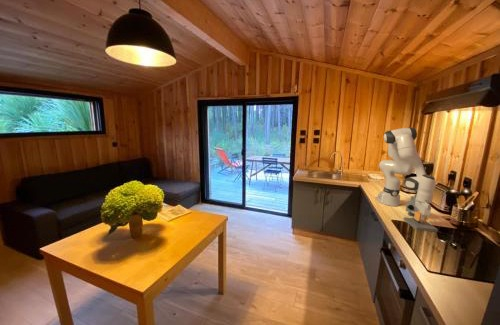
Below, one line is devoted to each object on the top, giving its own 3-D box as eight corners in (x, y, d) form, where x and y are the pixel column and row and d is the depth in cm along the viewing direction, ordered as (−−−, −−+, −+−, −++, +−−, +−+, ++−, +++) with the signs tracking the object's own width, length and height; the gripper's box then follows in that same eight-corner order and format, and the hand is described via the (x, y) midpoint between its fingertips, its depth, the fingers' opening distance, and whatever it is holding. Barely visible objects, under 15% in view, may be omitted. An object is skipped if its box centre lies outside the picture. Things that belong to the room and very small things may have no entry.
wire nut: (413, 218, 156) (415, 209, 155) (421, 218, 155) (423, 210, 154) (418, 221, 151) (420, 212, 150) (426, 221, 151) (428, 213, 149)
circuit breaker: (403, 215, 171) (406, 197, 168) (413, 212, 177) (416, 195, 175) (414, 219, 164) (417, 200, 162) (423, 216, 171) (427, 198, 168)
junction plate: (403, 219, 163) (404, 210, 161) (422, 221, 161) (424, 212, 160) (416, 229, 147) (418, 220, 146) (437, 232, 145) (439, 222, 144)
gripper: (435, 204, 140) (431, 224, 142) (425, 195, 158) (421, 213, 161) (423, 202, 142) (419, 222, 145) (414, 193, 161) (411, 211, 163)
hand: (420, 217), depth 153 cm, fingers closed on wire nut, 6 cm apart
